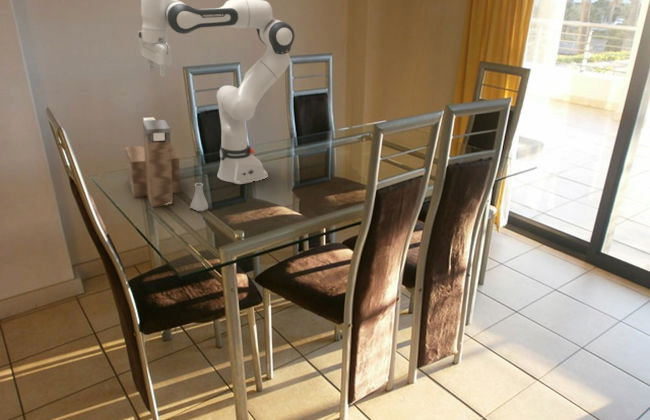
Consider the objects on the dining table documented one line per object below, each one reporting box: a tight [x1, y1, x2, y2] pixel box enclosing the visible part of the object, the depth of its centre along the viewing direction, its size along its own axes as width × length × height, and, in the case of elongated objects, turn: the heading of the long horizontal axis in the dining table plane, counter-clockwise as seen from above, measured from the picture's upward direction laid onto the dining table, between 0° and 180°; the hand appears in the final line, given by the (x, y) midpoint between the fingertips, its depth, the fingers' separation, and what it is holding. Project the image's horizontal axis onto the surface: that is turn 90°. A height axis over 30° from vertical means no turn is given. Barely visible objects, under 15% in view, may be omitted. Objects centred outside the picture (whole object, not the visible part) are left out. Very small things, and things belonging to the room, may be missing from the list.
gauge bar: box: [142, 117, 165, 141], centre depth 195 cm, size 4×22×3 cm, turn 27°
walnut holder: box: [125, 119, 181, 208], centre depth 202 cm, size 18×26×31 cm
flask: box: [189, 182, 209, 212], centre depth 199 cm, size 7×7×10 cm
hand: (156, 73), depth 200 cm, fingers open, 8 cm apart
